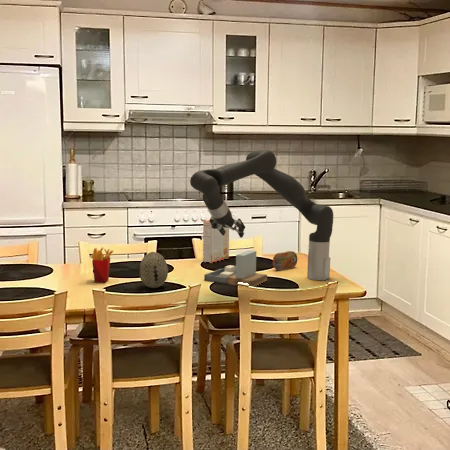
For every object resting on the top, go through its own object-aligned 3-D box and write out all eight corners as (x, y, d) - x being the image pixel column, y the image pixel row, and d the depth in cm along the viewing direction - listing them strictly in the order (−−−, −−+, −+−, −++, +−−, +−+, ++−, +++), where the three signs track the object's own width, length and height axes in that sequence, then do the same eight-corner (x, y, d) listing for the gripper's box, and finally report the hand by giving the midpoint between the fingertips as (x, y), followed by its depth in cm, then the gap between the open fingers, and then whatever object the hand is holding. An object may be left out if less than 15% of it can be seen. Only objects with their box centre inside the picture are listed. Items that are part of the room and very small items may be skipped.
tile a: (235, 266, 275) (229, 265, 276) (230, 267, 271) (224, 266, 273) (235, 275, 276) (229, 274, 277) (230, 277, 272) (224, 276, 273)
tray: (242, 277, 276) (243, 271, 275) (226, 284, 263) (226, 278, 263) (221, 273, 281) (221, 268, 281) (204, 280, 268) (204, 274, 268)
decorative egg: (170, 290, 251) (170, 254, 248) (141, 292, 247) (141, 255, 245) (164, 283, 262) (165, 248, 259) (137, 284, 258) (137, 249, 256)
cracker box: (220, 257, 316) (221, 217, 313) (229, 259, 312) (230, 218, 309) (202, 261, 305) (202, 220, 302) (211, 263, 302) (212, 221, 298)
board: (266, 281, 269) (267, 274, 269) (252, 288, 257) (252, 281, 257) (242, 277, 275) (243, 271, 275) (227, 284, 263) (227, 277, 263)
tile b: (233, 279, 269) (234, 272, 269) (228, 281, 265) (228, 274, 265) (224, 277, 271) (225, 271, 271) (219, 280, 267) (219, 273, 267)
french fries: (95, 279, 266) (95, 245, 264) (114, 279, 266) (114, 245, 263) (90, 284, 257) (90, 249, 255) (110, 284, 257) (110, 249, 255)
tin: (275, 271, 288) (276, 254, 287) (271, 270, 291) (271, 253, 289) (297, 267, 298) (298, 250, 297) (292, 266, 301) (293, 249, 299)
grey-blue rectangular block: (255, 273, 271) (256, 251, 269) (242, 278, 261) (243, 255, 259) (248, 272, 273) (249, 250, 271) (235, 277, 262) (236, 254, 261)
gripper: (238, 204, 241) (251, 229, 252) (207, 201, 248) (221, 226, 259) (231, 219, 237) (244, 244, 248) (200, 216, 244) (214, 240, 256)
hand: (233, 234), depth 254 cm, fingers open, 8 cm apart
